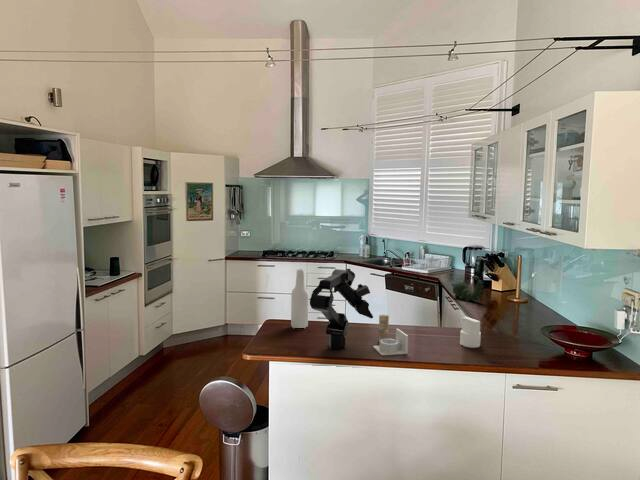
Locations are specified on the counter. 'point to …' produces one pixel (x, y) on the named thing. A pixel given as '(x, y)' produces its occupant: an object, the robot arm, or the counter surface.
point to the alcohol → (299, 302)
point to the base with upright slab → (470, 332)
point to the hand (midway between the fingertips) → (369, 315)
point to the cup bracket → (393, 344)
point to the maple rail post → (383, 327)
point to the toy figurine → (465, 293)
